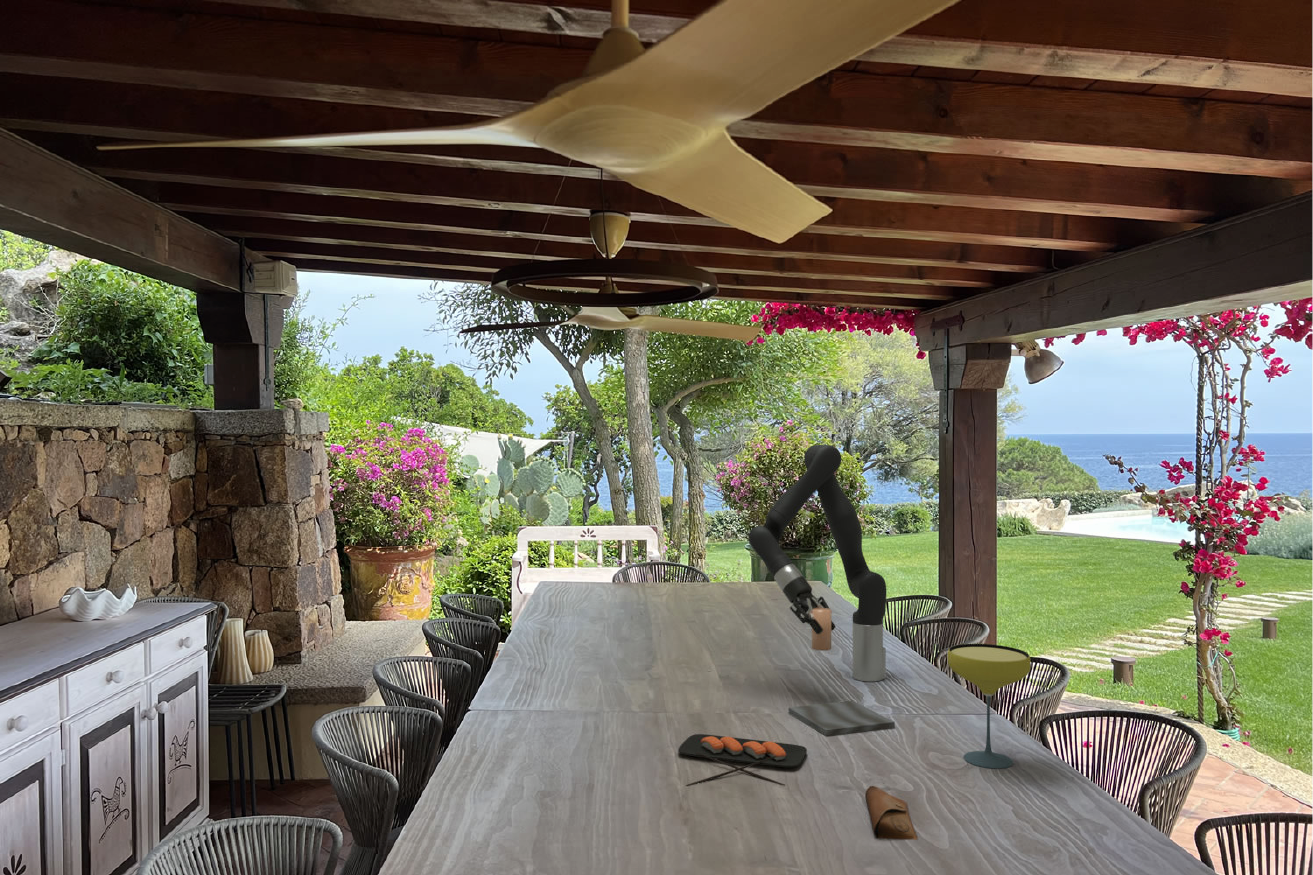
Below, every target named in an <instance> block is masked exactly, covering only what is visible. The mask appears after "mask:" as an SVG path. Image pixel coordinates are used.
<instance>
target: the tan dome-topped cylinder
mask: <svg viewBox="0 0 1313 875" xmlns="http://www.w3.org/2000/svg"><path fill="white" fill-rule="evenodd" d="M829 608H830V607H829ZM829 608H813V615H814V618H815V619H816V620H817V622H818V623H819V624H820V626H821V627H822V629H823V631H822V632H821V633H820V634H816V632H815V631H814V630H813V628H812V627H811V649H813V650H815V651H830V650H832V631H831V620H832V613H831V612H832V609H831V608H830V609H829ZM815 619H814V620H815Z"/></svg>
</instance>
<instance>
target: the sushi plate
mask: <svg viewBox="0 0 1313 875" xmlns="http://www.w3.org/2000/svg"><path fill="white" fill-rule="evenodd" d="M677 750H678V753H679V754H681V755H684V756H692V757H699V758H707V759H709V760H712V761H715V762H716V763H720V764H722V765H725V766H728V767H731V768H732V769H733V770H729V771H725V772H723V773H722V772H721V773H719V774H715V775H714V776H709V777H705V778H703V779H701V780H697V781H694V782H691V783H688V784H686V785H685V786H686V787H689V786H693V785H698V783H699V784H702V782H703V783H707V782H710V781H713V780H716V779H719V778H721V777H724V776H727V775H729V774H732V773H735V772H739V771H741V772H742V773H745V774H748V775H751V776H753V777H754V778H757V779H760V780H763V781H767V782H770V783H773V784H777V785H780V786H783V787H785V786H786V784H784V783H781V782H779V781H777V780H774V779H771V778H768V777H766V776H763V775H761V774H758V773H754V772H751V771H750V770H749V771H748V770H746V769H747V768H750V767H753V766H756V765H762V766H771V767H778V768H779V767H780V768H797V767H798V766H800V765H801V763H803V761H804V759H805V757H806V755H807V752H808V750H807V747H806V746H802V745H798V744H793V743H784V742H776V741H775V742H774V741H767V740H766V741H765V740H758V739H750V738H749V739H748V738H741V737H740V738H739V737H733V736H722V735H715V734H704V733H696V734H695V733H694V734H691V735H690V736H689V737H687V738H686V739H685V740H684V741H683V742H682V744H680V746H679V747H678V749H677ZM725 761H730V762H731V761H732V762H739V763H747V765H743V766H741V767H738V766H735V765H732V764H730V763H727V762H725ZM706 781H707V782H706Z"/></svg>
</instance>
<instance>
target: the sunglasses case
mask: <svg viewBox="0 0 1313 875" xmlns="http://www.w3.org/2000/svg"><path fill="white" fill-rule="evenodd" d="M865 801H866V804H867V810H868V814H869V819H870V823H871V826H872V827H871V828H872V831H873V834H874V835H875V837H876V838H877V839H887V840H889V839H890V840H891V839H892V840H917V841H918V835H917V832H916V830H915V827H914V825H913V822H912V819H911V816H910V812H909V808H908V803H907V802H906V801H905V800H903V799H901V798H898V797H895V796H893V795H891V794H889V793H888V792H886V791H884V790H883V789H881V788H879V787H877V786H876V785H870V786H869V787H868V788H867V789H866V791H865Z"/></svg>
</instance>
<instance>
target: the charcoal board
mask: <svg viewBox="0 0 1313 875" xmlns="http://www.w3.org/2000/svg"><path fill="white" fill-rule="evenodd" d="M788 714H790V715H791V716H792V717H794V718H795V719H797V718H798V720H800V721H801V722H802V723H804V724H806V725H807V726H808V727H810V728H812V729H814V730H815V731H817V732H818V733H821V734H822V735H823V736H825V737H829V736H839V735H845V734H847V735H848V734H856V733H863V732H871V731H878V730H879V731H880V730H888V729H889V730H890V729H895V726H896V725H895V721H894V720H892V719H890V718H888V717H886V716H884V715H882V714H880V713H878V712H876V711H874V710H872V709H870V708H868V707H866V706H864V705H862V704H860V703H859V702H857V701H854V700H847V701H835V702H827V703H820V704H819V703H818V704H808V705H800V706H799V705H798V706H790V707H788Z"/></svg>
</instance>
